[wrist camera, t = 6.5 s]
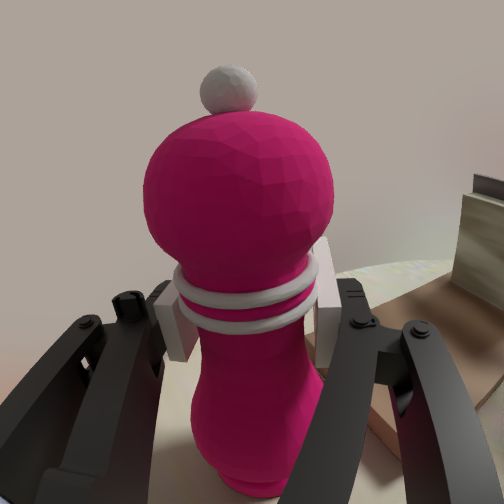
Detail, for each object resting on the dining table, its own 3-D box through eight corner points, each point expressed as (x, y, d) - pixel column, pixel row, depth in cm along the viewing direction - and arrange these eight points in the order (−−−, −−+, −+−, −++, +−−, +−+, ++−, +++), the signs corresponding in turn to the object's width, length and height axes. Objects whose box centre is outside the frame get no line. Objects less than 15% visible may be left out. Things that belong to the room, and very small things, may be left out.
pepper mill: (340, 434, 16) (367, 72, 9) (289, 523, 11) (278, -5, 3) (247, 402, 20) (210, 91, 13) (185, 471, 15) (66, 94, 7)
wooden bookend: (457, 280, 32) (472, 172, 27) (540, 326, 20) (573, 202, 15) (303, 353, 25) (301, 187, 19) (409, 470, 12) (507, 261, 7)
